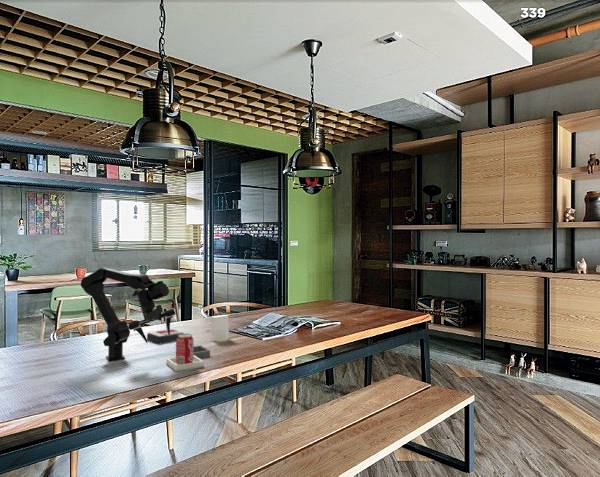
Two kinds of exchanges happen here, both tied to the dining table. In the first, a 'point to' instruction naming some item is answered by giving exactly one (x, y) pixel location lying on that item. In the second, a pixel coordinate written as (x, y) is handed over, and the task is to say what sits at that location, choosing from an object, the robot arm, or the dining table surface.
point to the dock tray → (176, 367)
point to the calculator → (163, 336)
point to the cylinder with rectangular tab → (219, 328)
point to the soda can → (184, 349)
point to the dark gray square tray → (201, 351)
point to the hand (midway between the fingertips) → (158, 338)
